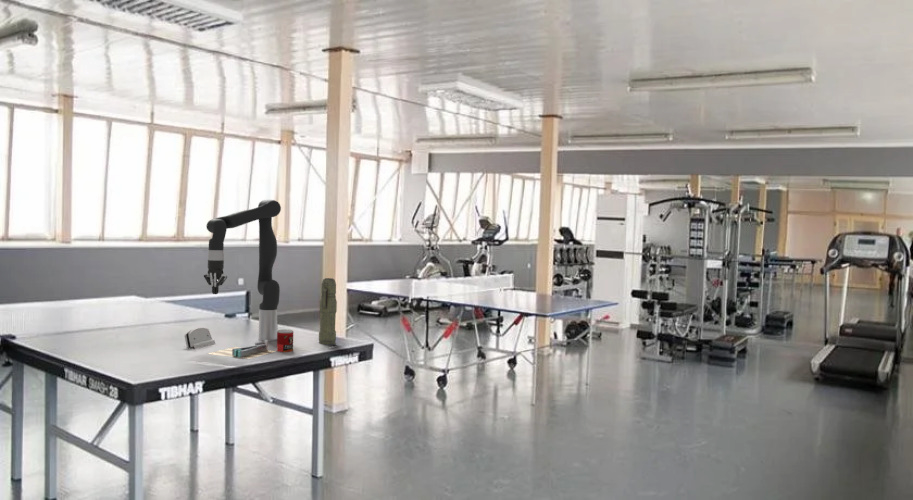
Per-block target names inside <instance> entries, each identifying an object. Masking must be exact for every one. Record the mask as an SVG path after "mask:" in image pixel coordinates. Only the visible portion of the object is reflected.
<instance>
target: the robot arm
mask: <svg viewBox="0 0 913 500" xmlns="http://www.w3.org/2000/svg"><path fill="white" fill-rule="evenodd" d="M281 210H282V207H281V204H280V202H278V201H277V200H275V199H262V200H261V201H260V202H259V203H258V206H257V207H255V208H250V209H244V210H240V211H237V212H233V213H230V214H228V215H225V216H219V217H215V218H214V217H213V218H211V219H210V220H208V221H207V222H206V230H207V231H208V232H209V233H212V236H211V238H210V239H208V251H207V273H206V274H204V275H203V278H204V280H205V281H206V282H207V284H208V286H211V293H212V294H213V295H218V294H219V289H220V288H219V287H221V286H223V284H224V283H225V282H226V280H227V279H228V276H227V275H225V273H224V264H225V262H224V261H225V253H224V250H225V249H224V248H225V247H224V242H225V239H226V234H227V230H228V229H235V228H237V227H240V226H243V225H246V224H249V223H252V222H255V221H258V229H259V230H258V234H259V235H258V237H259V239H258V256H259V257H258V278H257V285H256V287H257V292H258V293H259V295H261V296H262V302H261V303H259V307H258V308H259V309H258V341H261V342H264V340H268V342H269V341H270V342H271V341H272V342H273V341H277V331H278V330H279V329H278V326H279V325H278V324H279V323H278V306H279V303H280V293H281V292H280V291H281V290H280V284H279V282H278V281H277V280H274V279H273V267H274V264H275V262H276V260H277V259H276V258H277V254H278V242H277V238H276V234H275V232H274V230H273V220H272V218H274V217H277V216H279V214H280V212H281Z"/></svg>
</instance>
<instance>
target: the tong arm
mask: <svg viewBox="0 0 913 500" xmlns="http://www.w3.org/2000/svg"><path fill="white" fill-rule="evenodd" d="M264 344H265V342H264V341H260V342H255V343H254V345H249V346H244V347H242V348H236V349H232V355H233V356H238V351H240V350H246V349H250V348H253V347H257V346H261V345H264Z"/></svg>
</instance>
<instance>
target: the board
mask: <svg viewBox="0 0 913 500" xmlns="http://www.w3.org/2000/svg"><path fill="white" fill-rule="evenodd" d="M236 348H242V347H241V346H240V347H239V346H232V347H228V348H224V349H220V350H216V351H213V352H209V353H207V355H211V356H212V355H214V356H220V357H230V358H231V357H232V358H239V359H247V360H251V359H254V358H258V357H261V356H265V355H268V354H272V353H275V352H277V350H269V349H268V351H265V352H261V353H258V354H254V355H251V356H247V357H243V358H241V357H238V356H233V355H232V349H236Z"/></svg>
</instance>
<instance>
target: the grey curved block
mask: <svg viewBox="0 0 913 500" xmlns="http://www.w3.org/2000/svg"><path fill="white" fill-rule="evenodd" d="M184 340H185V345H186V348H187V349H190V348H193V347H194V350H195V349H196V350H197V349H200V348H205V347H208V346H212V345H215V344H216V341H215V339H213V338H212V334H211V332H210V329H209V328H206V327H197V328H193V329H191V330H189V331H187V332H186V333H185V334H184Z"/></svg>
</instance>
